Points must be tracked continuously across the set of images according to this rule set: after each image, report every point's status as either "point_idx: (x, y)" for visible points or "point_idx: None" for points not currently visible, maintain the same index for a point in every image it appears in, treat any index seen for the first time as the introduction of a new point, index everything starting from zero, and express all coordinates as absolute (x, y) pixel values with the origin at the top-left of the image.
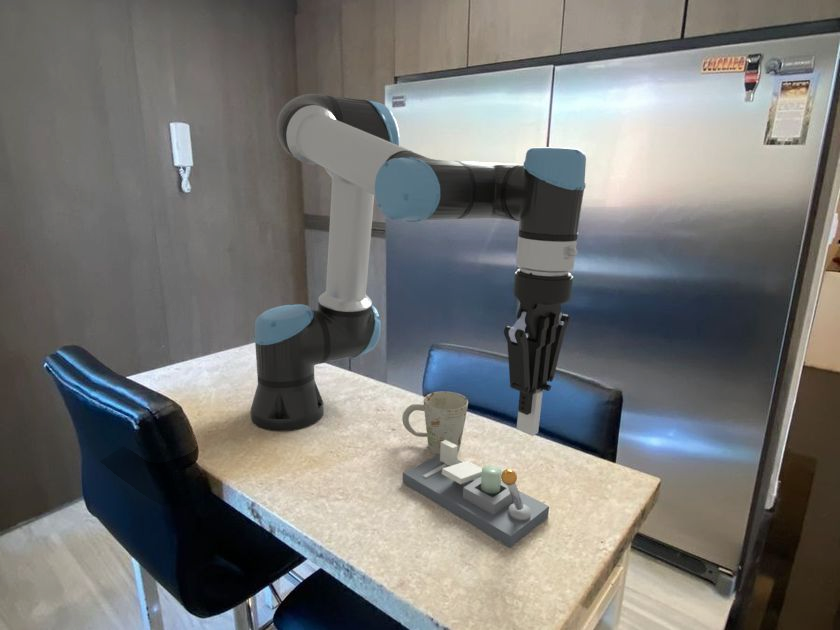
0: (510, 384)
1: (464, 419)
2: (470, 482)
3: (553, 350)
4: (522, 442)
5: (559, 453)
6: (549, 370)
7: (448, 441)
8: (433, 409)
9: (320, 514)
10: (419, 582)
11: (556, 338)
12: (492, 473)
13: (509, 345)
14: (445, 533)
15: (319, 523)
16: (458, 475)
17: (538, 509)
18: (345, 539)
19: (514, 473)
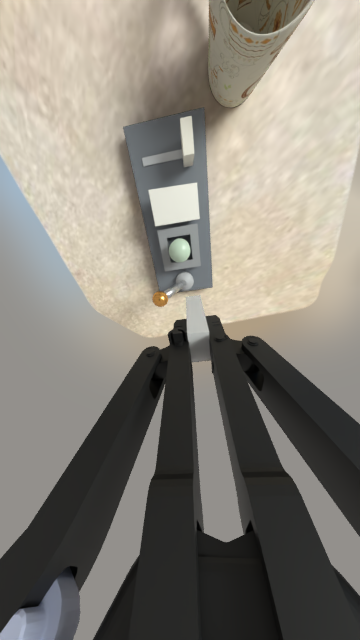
0: (140, 355)
1: (270, 59)
2: None
3: (292, 436)
4: (330, 151)
5: (326, 213)
6: (250, 382)
7: (191, 126)
8: None
9: (17, 134)
10: (90, 279)
11: (337, 497)
12: (176, 255)
13: (48, 507)
14: (129, 249)
15: (17, 153)
16: (157, 216)
17: (202, 285)
18: (43, 200)
19: (162, 305)
